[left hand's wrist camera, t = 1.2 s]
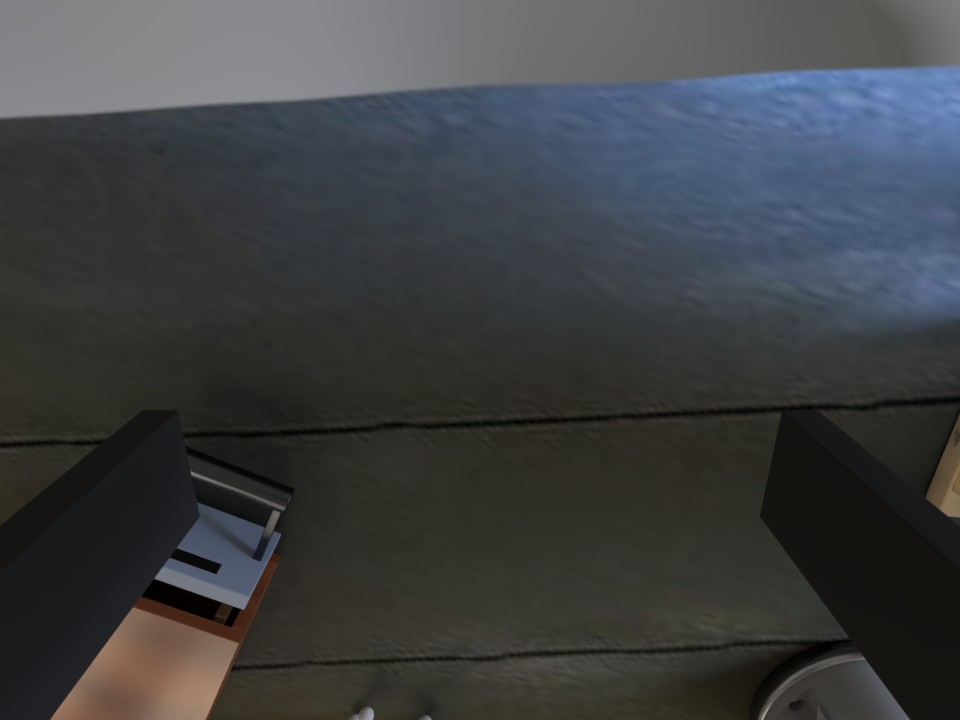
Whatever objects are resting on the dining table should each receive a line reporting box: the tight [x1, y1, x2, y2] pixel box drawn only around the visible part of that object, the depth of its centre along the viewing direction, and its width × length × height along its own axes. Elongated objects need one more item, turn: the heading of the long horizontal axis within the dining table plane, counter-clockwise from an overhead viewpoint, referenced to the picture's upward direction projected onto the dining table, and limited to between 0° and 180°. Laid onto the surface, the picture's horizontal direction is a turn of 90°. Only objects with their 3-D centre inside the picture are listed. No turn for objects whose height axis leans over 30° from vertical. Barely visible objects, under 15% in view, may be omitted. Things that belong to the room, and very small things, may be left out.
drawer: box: [141, 446, 295, 627], centre depth 40 cm, size 21×9×6 cm, turn 154°
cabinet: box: [50, 553, 281, 720], centre depth 42 cm, size 16×11×8 cm, turn 154°
